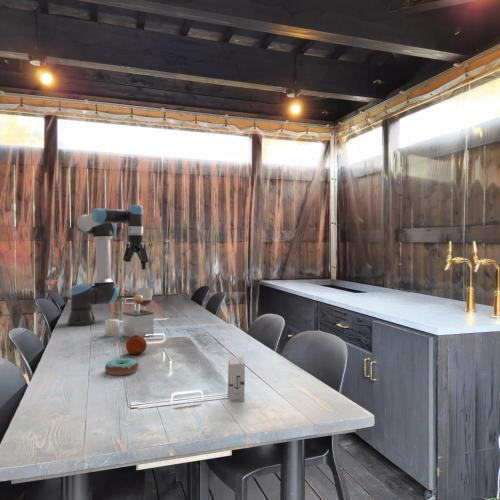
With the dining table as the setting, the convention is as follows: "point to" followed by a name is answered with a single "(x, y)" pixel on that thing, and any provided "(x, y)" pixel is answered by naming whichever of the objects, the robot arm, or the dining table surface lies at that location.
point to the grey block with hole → (137, 323)
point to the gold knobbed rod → (138, 301)
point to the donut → (121, 366)
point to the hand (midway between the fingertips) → (135, 274)
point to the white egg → (111, 327)
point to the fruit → (136, 345)
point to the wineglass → (145, 295)
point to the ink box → (236, 379)
